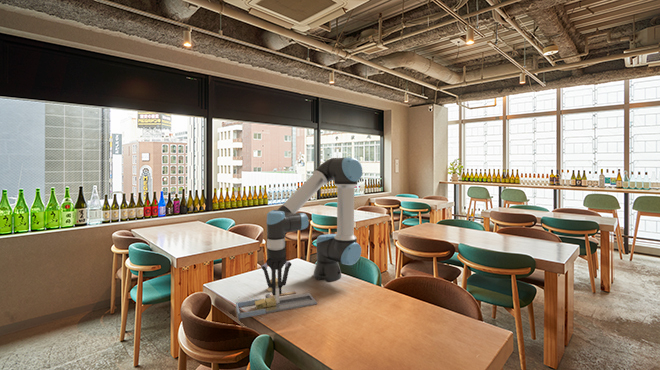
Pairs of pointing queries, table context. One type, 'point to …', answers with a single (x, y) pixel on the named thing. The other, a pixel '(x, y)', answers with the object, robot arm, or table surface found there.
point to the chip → (260, 304)
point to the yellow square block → (270, 302)
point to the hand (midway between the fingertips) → (276, 302)
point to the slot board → (292, 302)
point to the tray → (250, 313)
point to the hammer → (280, 294)
